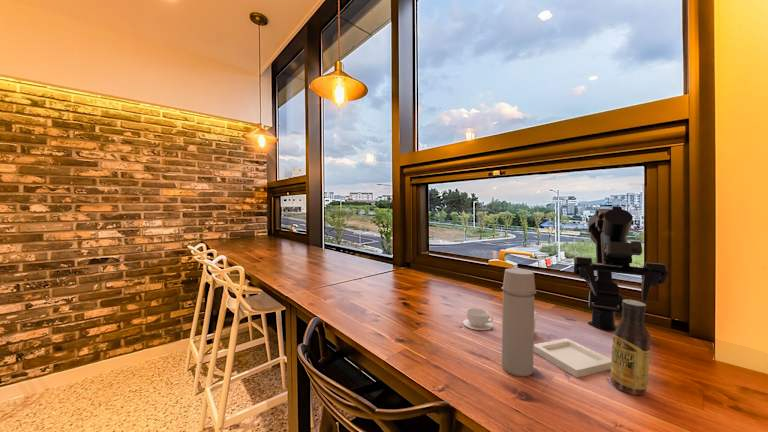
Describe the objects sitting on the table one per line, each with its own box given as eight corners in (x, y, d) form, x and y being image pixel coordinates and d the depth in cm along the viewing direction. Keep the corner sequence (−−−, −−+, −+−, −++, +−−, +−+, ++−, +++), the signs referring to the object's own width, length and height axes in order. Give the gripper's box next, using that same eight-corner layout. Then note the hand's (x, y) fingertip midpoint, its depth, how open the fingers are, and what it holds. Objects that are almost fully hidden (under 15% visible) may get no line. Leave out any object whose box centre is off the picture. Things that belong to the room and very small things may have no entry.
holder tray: (566, 344, 83) (567, 338, 83) (614, 368, 70) (614, 361, 70) (532, 350, 79) (532, 344, 79) (576, 377, 66) (576, 370, 66)
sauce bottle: (603, 380, 66) (605, 297, 65) (627, 378, 66) (630, 296, 65) (630, 399, 59) (633, 307, 58) (657, 397, 60) (660, 306, 59)
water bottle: (533, 382, 64) (535, 276, 64) (497, 372, 69) (499, 272, 68) (536, 364, 72) (537, 268, 71) (503, 355, 76) (505, 265, 76)
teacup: (461, 328, 94) (461, 315, 94) (464, 317, 103) (464, 305, 103) (492, 333, 90) (493, 319, 90) (493, 322, 99) (493, 309, 99)
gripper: (575, 228, 78) (575, 276, 69) (667, 231, 68) (681, 288, 59) (573, 251, 85) (573, 297, 76) (657, 257, 75) (668, 311, 66)
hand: (619, 298), depth 69 cm, fingers open, 9 cm apart
